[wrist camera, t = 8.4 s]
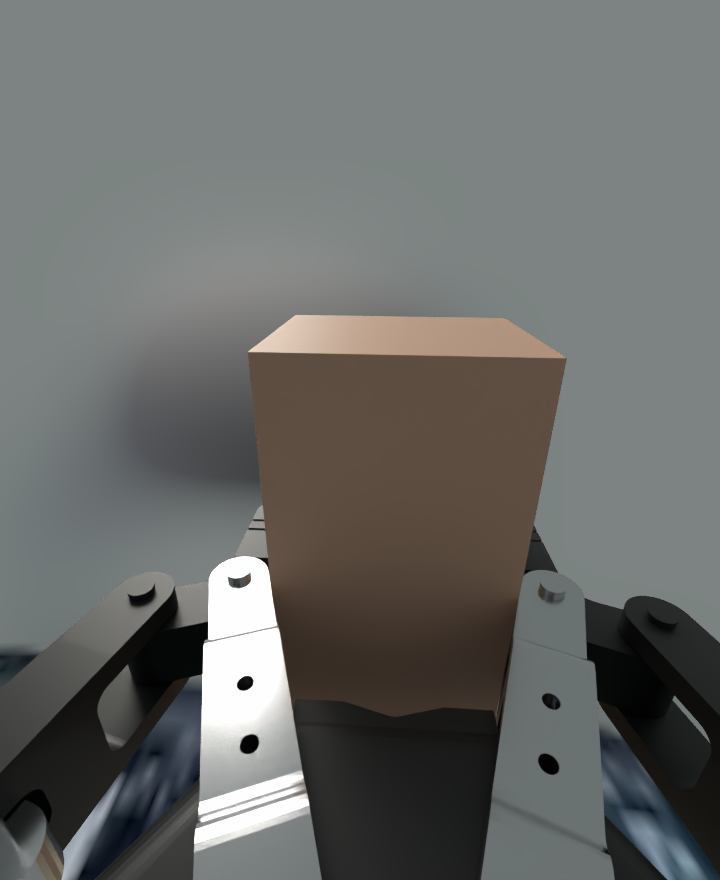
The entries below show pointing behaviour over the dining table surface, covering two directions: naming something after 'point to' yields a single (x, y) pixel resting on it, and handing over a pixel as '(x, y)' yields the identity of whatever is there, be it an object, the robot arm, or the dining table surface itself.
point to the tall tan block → (400, 501)
